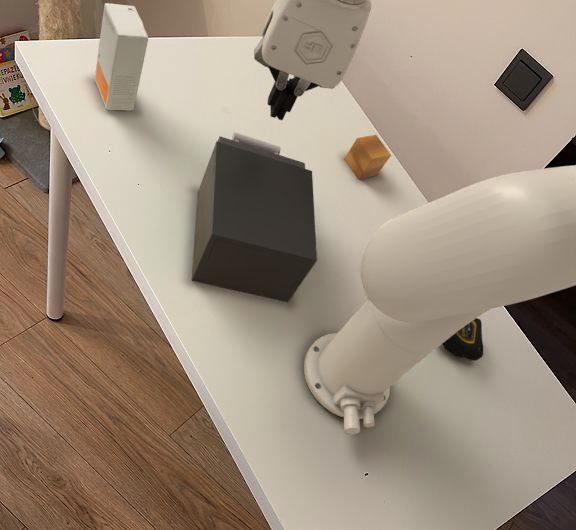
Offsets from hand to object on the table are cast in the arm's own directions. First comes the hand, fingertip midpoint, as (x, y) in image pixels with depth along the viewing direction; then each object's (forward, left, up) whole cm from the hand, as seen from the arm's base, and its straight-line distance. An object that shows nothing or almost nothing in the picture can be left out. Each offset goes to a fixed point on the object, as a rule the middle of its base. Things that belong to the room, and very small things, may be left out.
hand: (276, 111), depth 78 cm
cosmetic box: (+10, +20, -14) cm, 26 cm away
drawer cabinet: (-12, 0, -14) cm, 18 cm away
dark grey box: (-6, 0, -13) cm, 14 cm away
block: (+12, -21, -14) cm, 28 cm away
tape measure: (-20, -35, -14) cm, 43 cm away
